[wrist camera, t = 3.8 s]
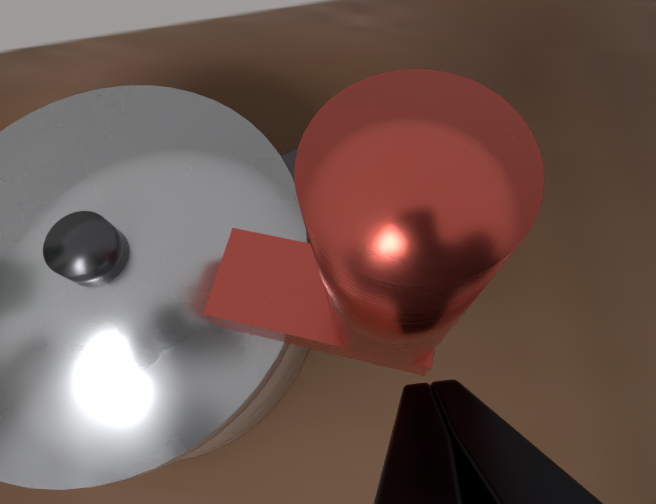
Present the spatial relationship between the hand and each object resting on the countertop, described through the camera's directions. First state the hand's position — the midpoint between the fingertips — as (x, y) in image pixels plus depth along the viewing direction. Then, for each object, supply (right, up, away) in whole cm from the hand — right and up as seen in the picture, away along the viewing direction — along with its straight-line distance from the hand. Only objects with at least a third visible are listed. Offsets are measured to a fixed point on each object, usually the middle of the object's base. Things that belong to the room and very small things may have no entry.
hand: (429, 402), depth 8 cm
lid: (-6, +2, +6) cm, 9 cm away
